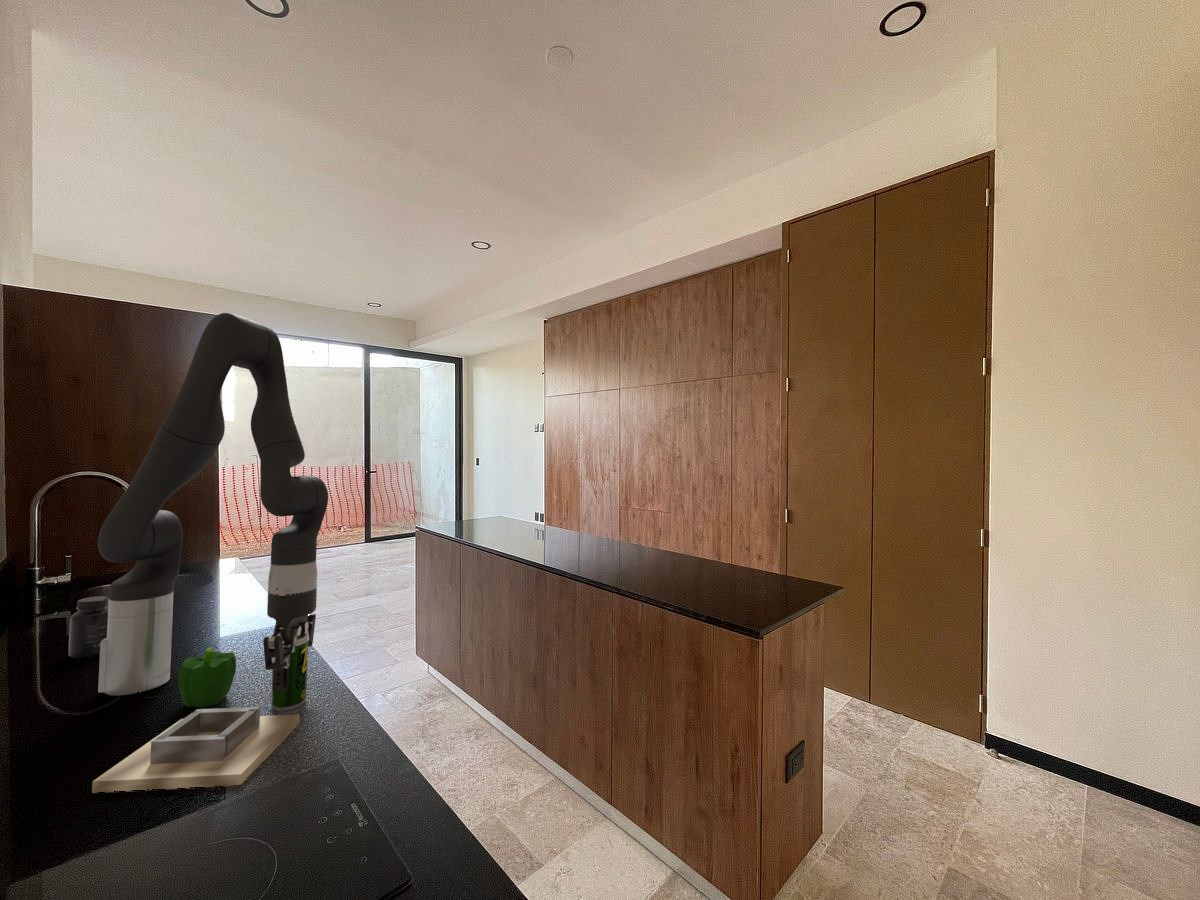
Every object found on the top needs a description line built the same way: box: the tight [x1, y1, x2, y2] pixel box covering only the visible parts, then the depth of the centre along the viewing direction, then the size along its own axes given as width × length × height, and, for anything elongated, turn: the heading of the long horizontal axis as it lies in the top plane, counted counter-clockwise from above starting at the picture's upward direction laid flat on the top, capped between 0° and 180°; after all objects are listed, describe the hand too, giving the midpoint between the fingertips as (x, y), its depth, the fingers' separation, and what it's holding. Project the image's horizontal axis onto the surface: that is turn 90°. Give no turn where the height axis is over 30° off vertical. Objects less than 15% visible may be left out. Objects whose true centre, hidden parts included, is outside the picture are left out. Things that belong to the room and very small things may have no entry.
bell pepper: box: [177, 647, 237, 709], centre depth 89 cm, size 8×8×10 cm
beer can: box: [270, 633, 309, 712], centre depth 89 cm, size 5×5×12 cm
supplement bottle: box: [68, 595, 109, 659], centre depth 111 cm, size 7×7×12 cm
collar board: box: [91, 706, 300, 794], centre depth 74 cm, size 18×16×4 cm
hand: (289, 681), depth 89 cm, fingers closed on beer can, 5 cm apart
